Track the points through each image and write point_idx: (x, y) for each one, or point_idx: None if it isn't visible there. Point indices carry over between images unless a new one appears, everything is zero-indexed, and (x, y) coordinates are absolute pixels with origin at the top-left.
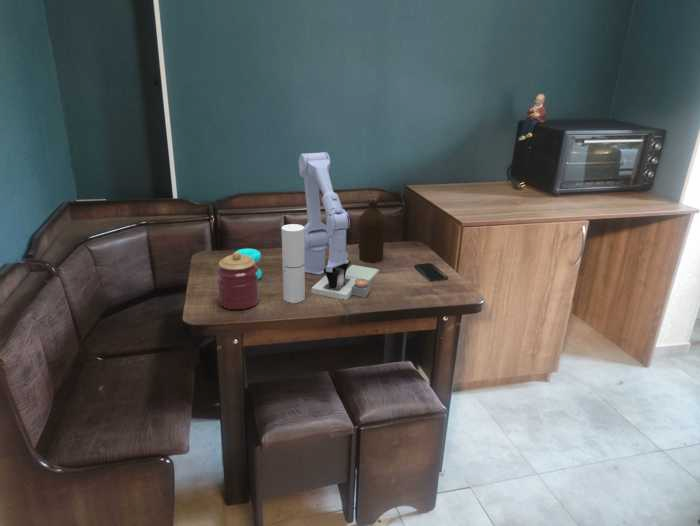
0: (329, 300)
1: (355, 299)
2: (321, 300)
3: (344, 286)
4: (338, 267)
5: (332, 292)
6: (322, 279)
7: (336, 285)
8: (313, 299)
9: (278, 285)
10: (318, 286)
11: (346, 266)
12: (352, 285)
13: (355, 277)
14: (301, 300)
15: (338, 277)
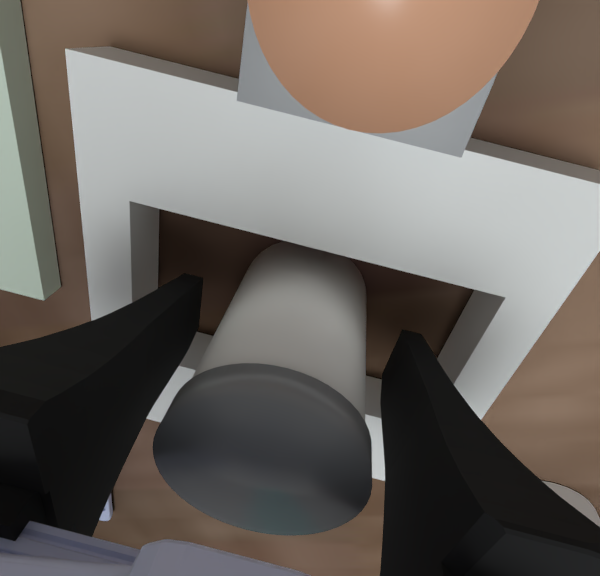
0: (577, 331)
1: (584, 50)
2: (569, 387)
3: (360, 249)
4: (162, 462)
5: (526, 349)
6: None
7: (415, 345)
8: (542, 434)
9: (332, 572)
10: None
11: (90, 382)
12: (310, 153)
13: (11, 150)
14: (581, 501)
15: (359, 391)
